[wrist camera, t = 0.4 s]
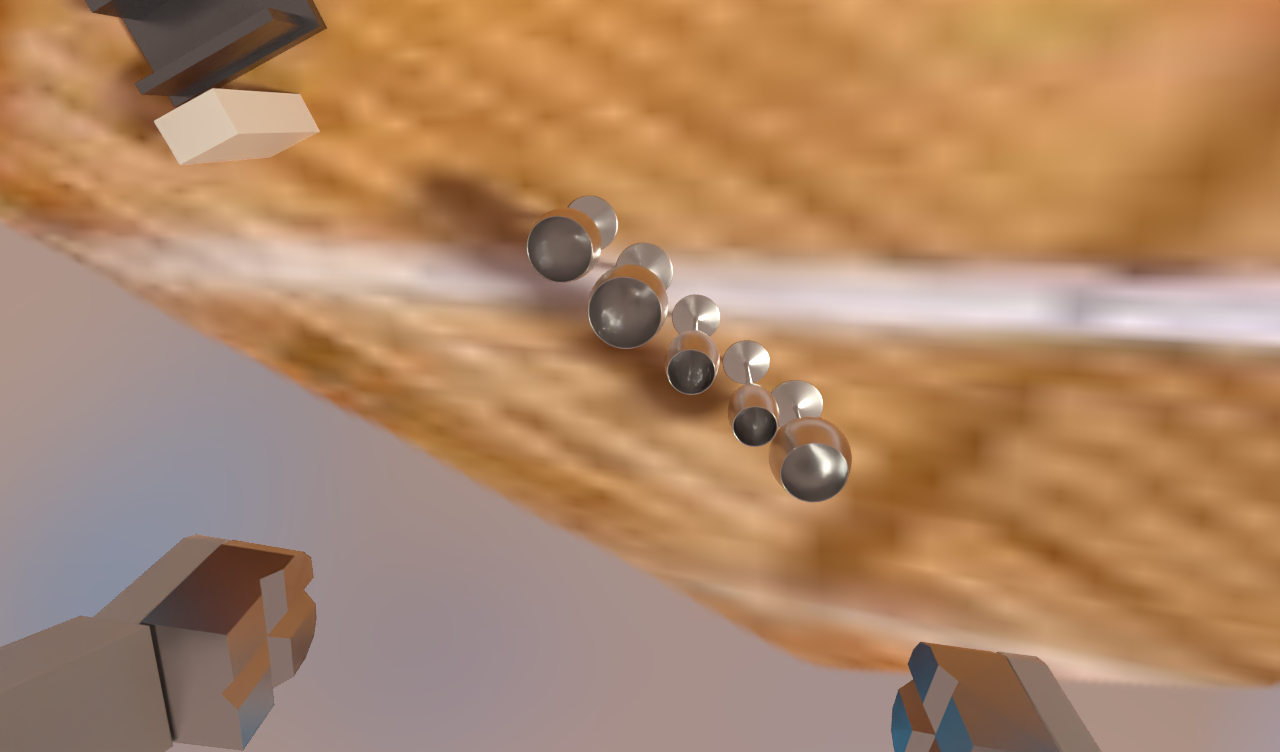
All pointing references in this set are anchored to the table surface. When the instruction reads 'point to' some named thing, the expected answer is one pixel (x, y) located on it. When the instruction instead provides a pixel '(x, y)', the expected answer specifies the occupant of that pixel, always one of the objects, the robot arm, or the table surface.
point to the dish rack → (209, 38)
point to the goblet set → (692, 346)
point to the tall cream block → (235, 126)
